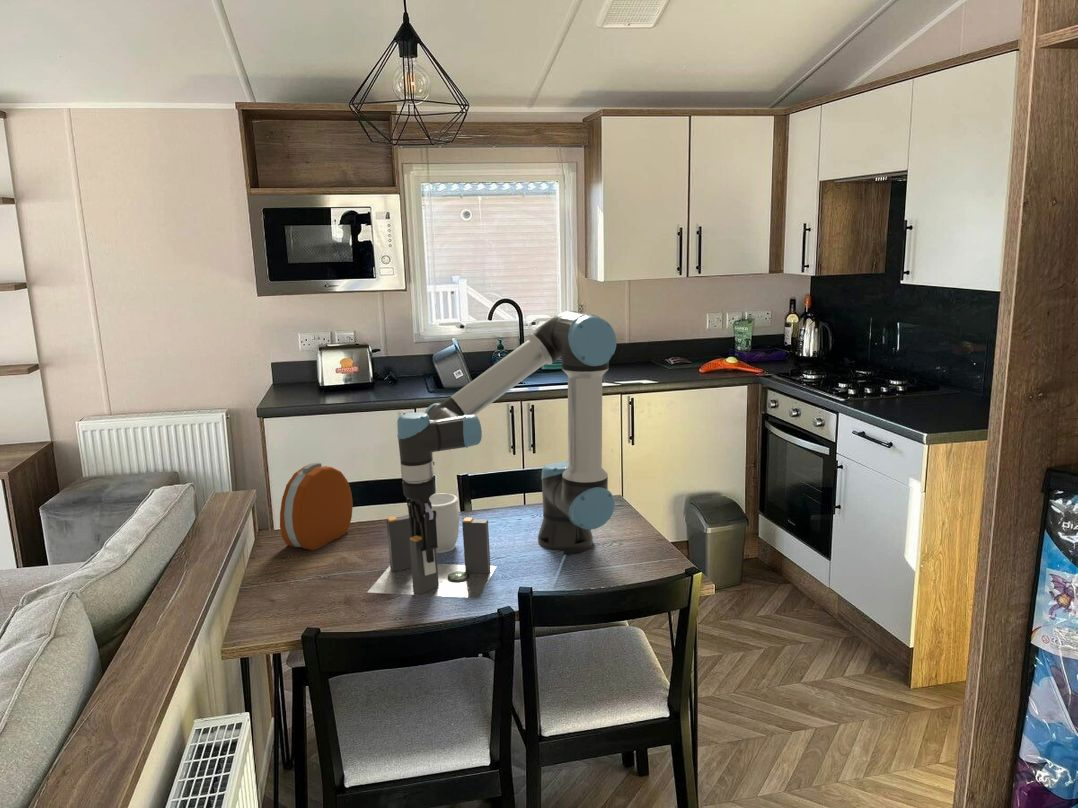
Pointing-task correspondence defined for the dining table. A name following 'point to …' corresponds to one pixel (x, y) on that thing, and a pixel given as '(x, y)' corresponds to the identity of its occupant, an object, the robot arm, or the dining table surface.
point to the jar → (445, 520)
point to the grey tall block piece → (476, 545)
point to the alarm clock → (315, 507)
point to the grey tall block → (399, 542)
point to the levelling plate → (449, 579)
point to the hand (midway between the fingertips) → (426, 570)
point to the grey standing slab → (421, 568)
